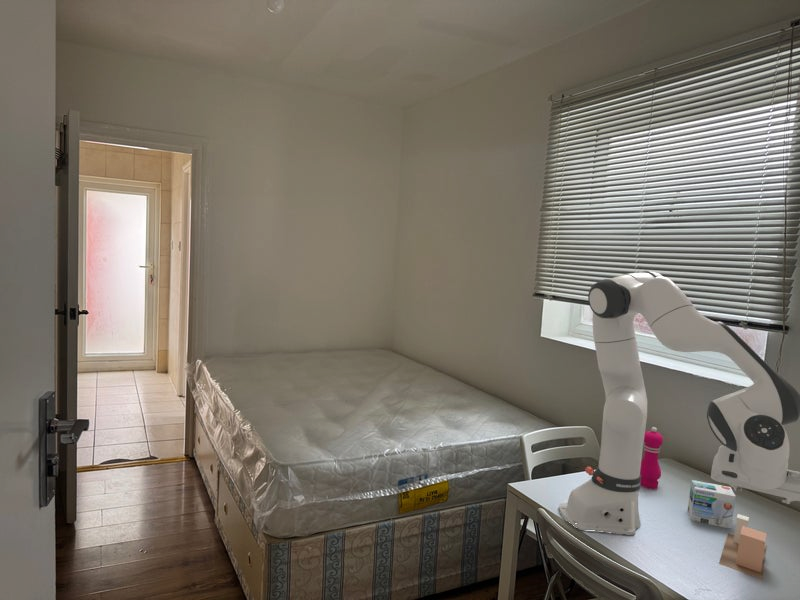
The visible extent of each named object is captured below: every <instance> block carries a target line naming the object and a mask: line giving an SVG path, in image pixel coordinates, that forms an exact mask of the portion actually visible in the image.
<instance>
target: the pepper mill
mask: <svg viewBox="0 0 800 600" xmlns="http://www.w3.org/2000/svg"><path fill="white" fill-rule="evenodd" d="M657 431H658V428H657V427H655V426H652V427H651V429H650V430H648V431H645V436H644V444H643V450H644V454H643V456H642V460H641V469H640V475H641V484H640V487H643V488H646V489H650V490H656V489H658V487H659V481H658V480H659V479H661V477H662V469H661V467H660V464H659V453H660V452H661V446H662V445H663V443H664V437H663V436H662V434H660V433H659V432H657Z"/></svg>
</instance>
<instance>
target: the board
mask: <svg viewBox="0 0 800 600" xmlns="http://www.w3.org/2000/svg"><path fill="white" fill-rule="evenodd" d="M733 541H734V534H732V533H727V535H726V539H725V543H724V544H723V549H722V552H721V556H720V558H719V562H718V564H719V565H721V566H725V567H727V568H729V569H733V570H736V571H737V572H741V573H744V574H746V575H750V576H753V577H755V578H758V579H761V580H762V579H763V573H764V568H765V561H766V555H767V549H768V548H767V547H768V546H767V545H766V544H765V548H764V555H763V562H762V568H761V572H758V571H755V570H752V569H749V568H746V567H743V566H741V565H738V564H736V560H737V553H738V546H739V544H738V543H735V542H733Z"/></svg>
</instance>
